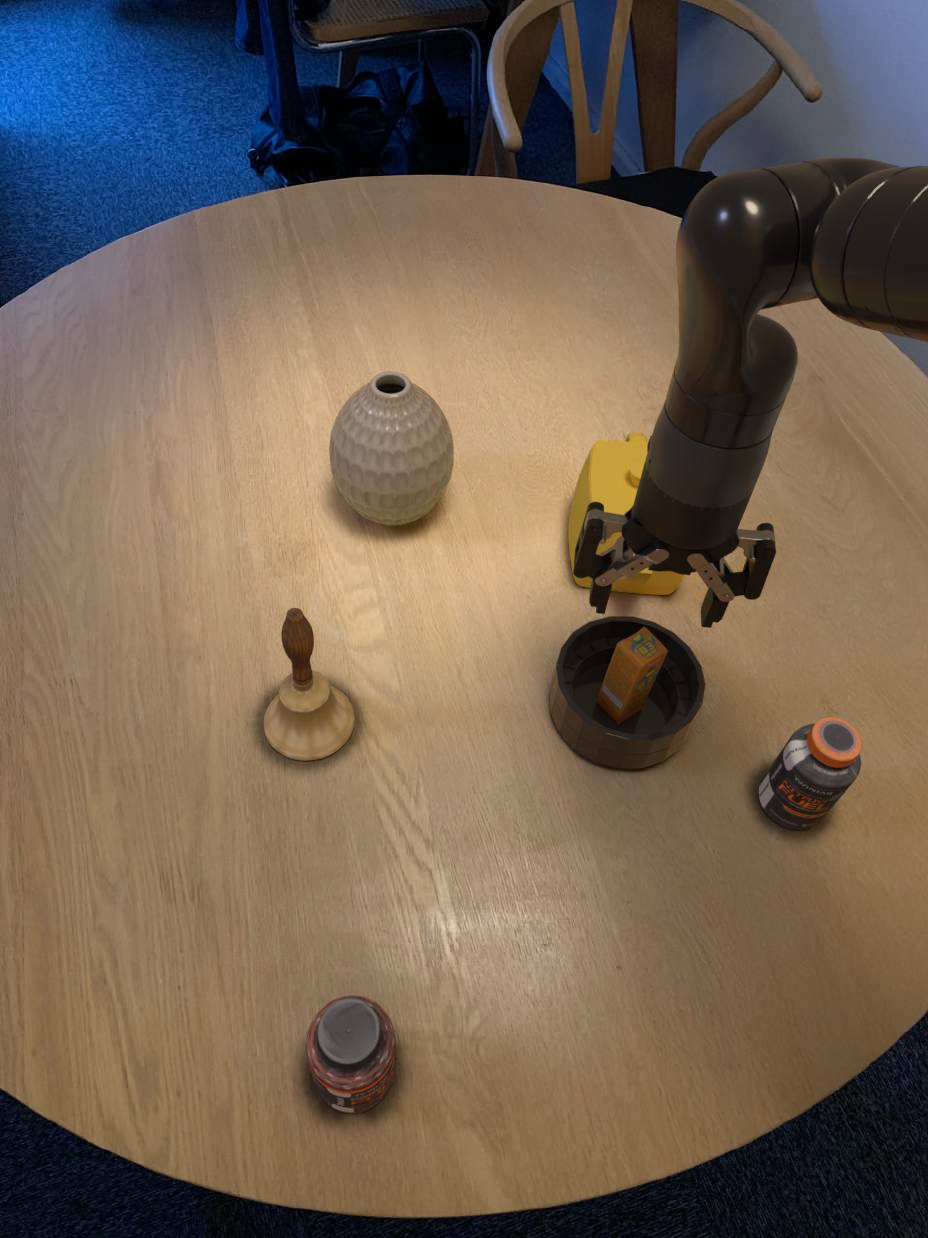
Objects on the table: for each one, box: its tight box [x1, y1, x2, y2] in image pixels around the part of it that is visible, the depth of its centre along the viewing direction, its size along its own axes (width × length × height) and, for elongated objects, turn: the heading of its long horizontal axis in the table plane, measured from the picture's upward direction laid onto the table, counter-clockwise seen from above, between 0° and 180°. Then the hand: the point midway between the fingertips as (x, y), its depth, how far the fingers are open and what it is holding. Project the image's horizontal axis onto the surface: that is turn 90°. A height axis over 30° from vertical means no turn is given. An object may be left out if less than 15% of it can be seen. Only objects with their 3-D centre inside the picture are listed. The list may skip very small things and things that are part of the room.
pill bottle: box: [758, 716, 863, 831], centre depth 79 cm, size 6×6×11 cm
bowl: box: [548, 615, 706, 769], centre depth 85 cm, size 13×13×6 cm
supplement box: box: [597, 627, 668, 724], centre depth 83 cm, size 3×3×10 cm
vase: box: [328, 371, 455, 527], centre depth 96 cm, size 13×13×17 cm
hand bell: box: [262, 607, 356, 762], centre depth 79 cm, size 8×8×16 cm
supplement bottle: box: [305, 994, 398, 1115], centre depth 64 cm, size 6×6×11 cm
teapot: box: [568, 432, 684, 596], centre depth 95 cm, size 20×12×12 cm, turn 175°
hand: (652, 612), depth 76 cm, fingers open, 8 cm apart
